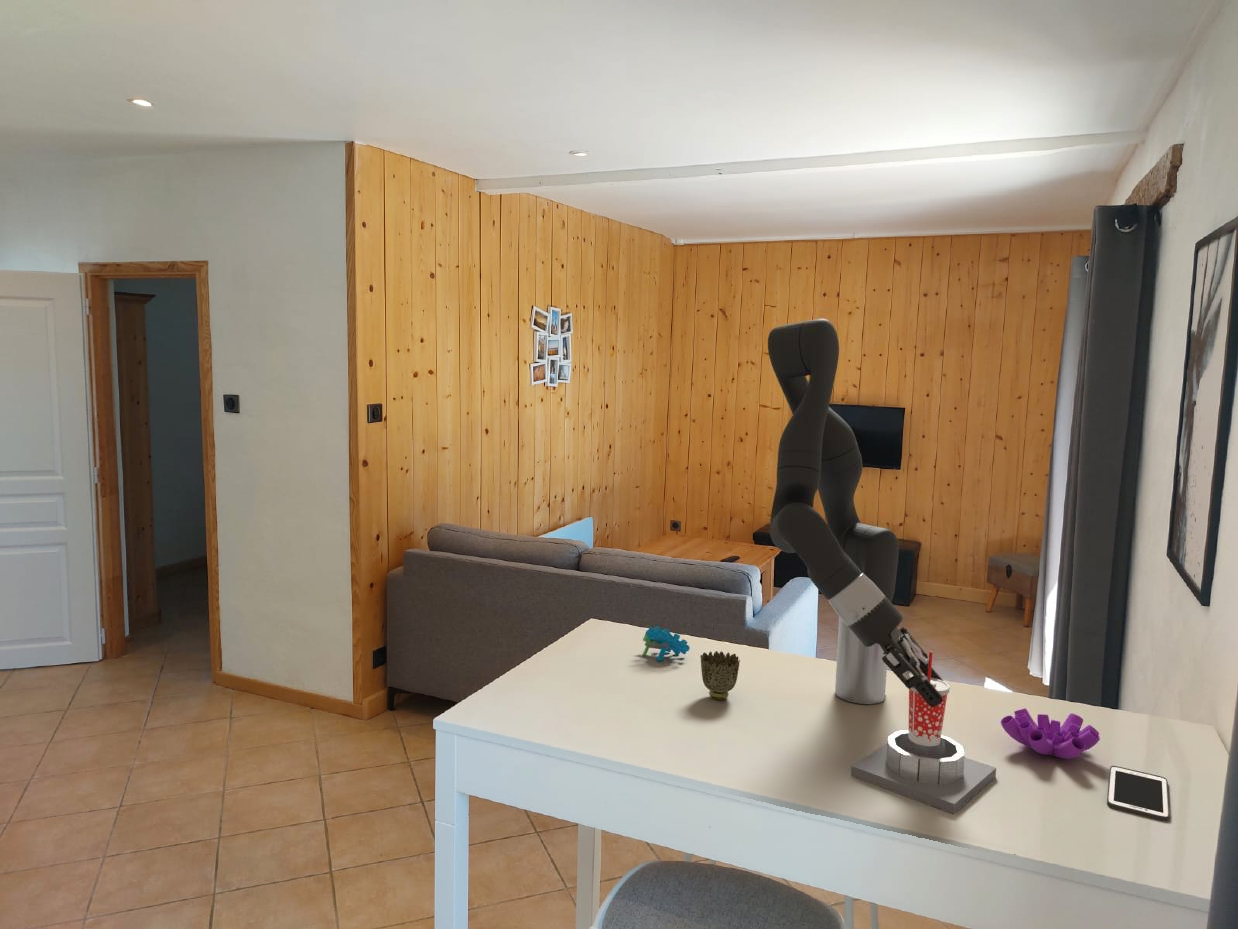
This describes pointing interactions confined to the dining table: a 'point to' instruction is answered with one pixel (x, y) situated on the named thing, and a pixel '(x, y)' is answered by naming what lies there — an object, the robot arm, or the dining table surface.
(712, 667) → the cup
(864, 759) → the flange board
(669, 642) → the blue toy figure
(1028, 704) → the dining table surface
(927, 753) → the collar
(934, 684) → the beverage cup
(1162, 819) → the cell phone
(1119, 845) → the dining table surface
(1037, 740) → the purple tube coral
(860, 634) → the robot arm
